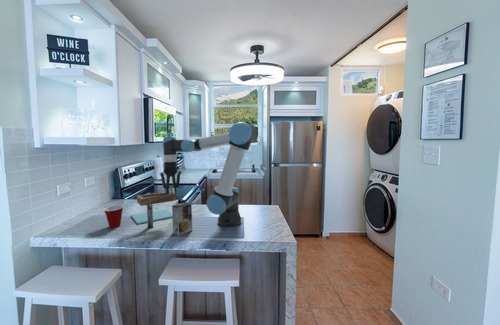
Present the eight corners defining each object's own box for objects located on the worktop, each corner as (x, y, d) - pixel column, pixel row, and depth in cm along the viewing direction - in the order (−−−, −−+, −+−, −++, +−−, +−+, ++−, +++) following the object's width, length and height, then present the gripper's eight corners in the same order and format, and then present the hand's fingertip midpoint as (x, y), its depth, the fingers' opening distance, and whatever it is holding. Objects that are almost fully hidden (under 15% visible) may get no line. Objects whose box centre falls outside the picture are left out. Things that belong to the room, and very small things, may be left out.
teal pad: (175, 217, 162) (175, 215, 162) (137, 224, 147) (137, 222, 147) (165, 210, 178) (165, 209, 178) (130, 216, 163) (130, 214, 163)
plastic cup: (106, 224, 147) (105, 205, 146) (125, 222, 151) (124, 204, 150) (102, 230, 137) (101, 210, 136) (123, 228, 141) (122, 208, 140)
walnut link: (175, 200, 146) (175, 194, 145) (141, 205, 134) (140, 199, 133) (170, 197, 154) (170, 191, 153) (137, 202, 142) (136, 195, 141)
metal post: (153, 227, 142) (152, 204, 141) (148, 228, 140) (147, 205, 139) (152, 226, 145) (151, 203, 143) (147, 227, 143) (146, 204, 142)
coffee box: (185, 228, 142) (185, 201, 140) (192, 230, 138) (192, 203, 136) (172, 232, 135) (171, 205, 133) (179, 235, 131) (178, 207, 129)
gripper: (179, 160, 154) (180, 195, 156) (155, 161, 145) (157, 199, 147) (184, 161, 148) (185, 197, 151) (159, 162, 139) (161, 201, 141)
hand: (171, 198), depth 149 cm, fingers closed on walnut link, 2 cm apart
